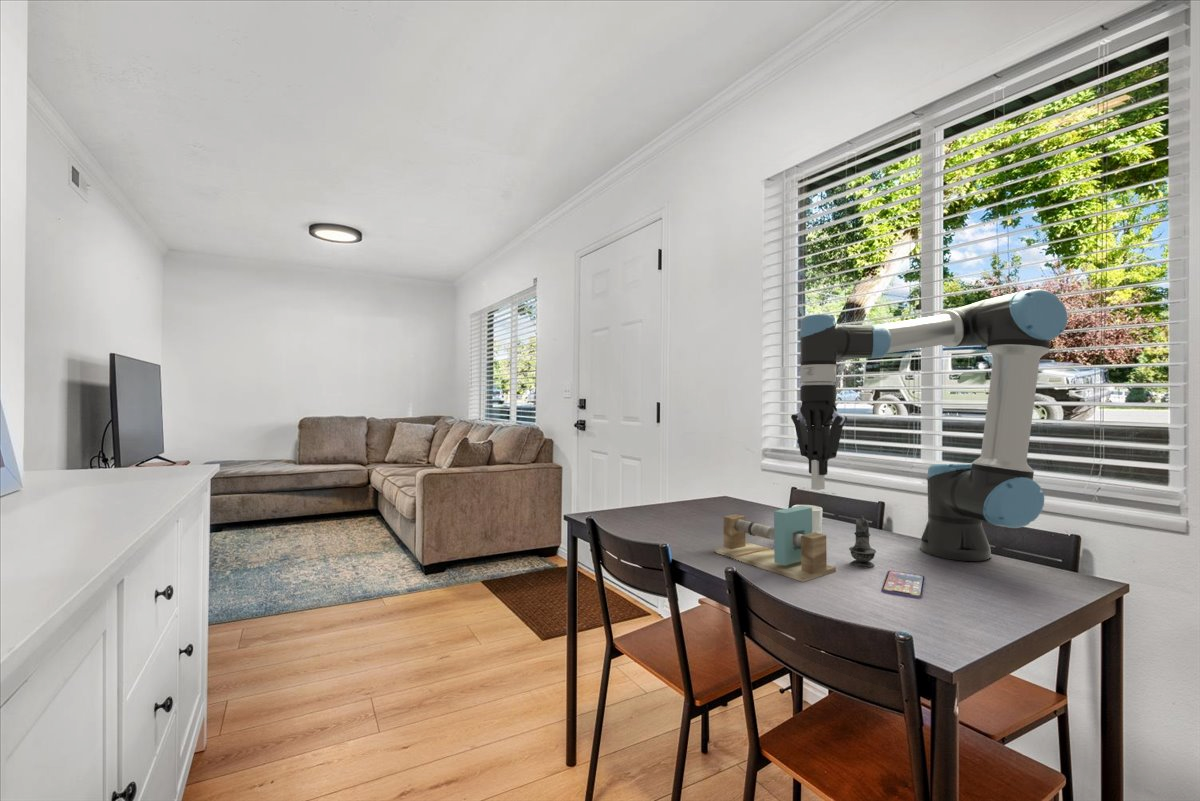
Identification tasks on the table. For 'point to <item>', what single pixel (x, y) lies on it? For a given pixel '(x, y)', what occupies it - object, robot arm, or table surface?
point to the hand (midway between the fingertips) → (818, 488)
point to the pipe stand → (763, 557)
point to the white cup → (815, 518)
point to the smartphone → (903, 584)
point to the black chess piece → (862, 545)
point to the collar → (790, 532)
